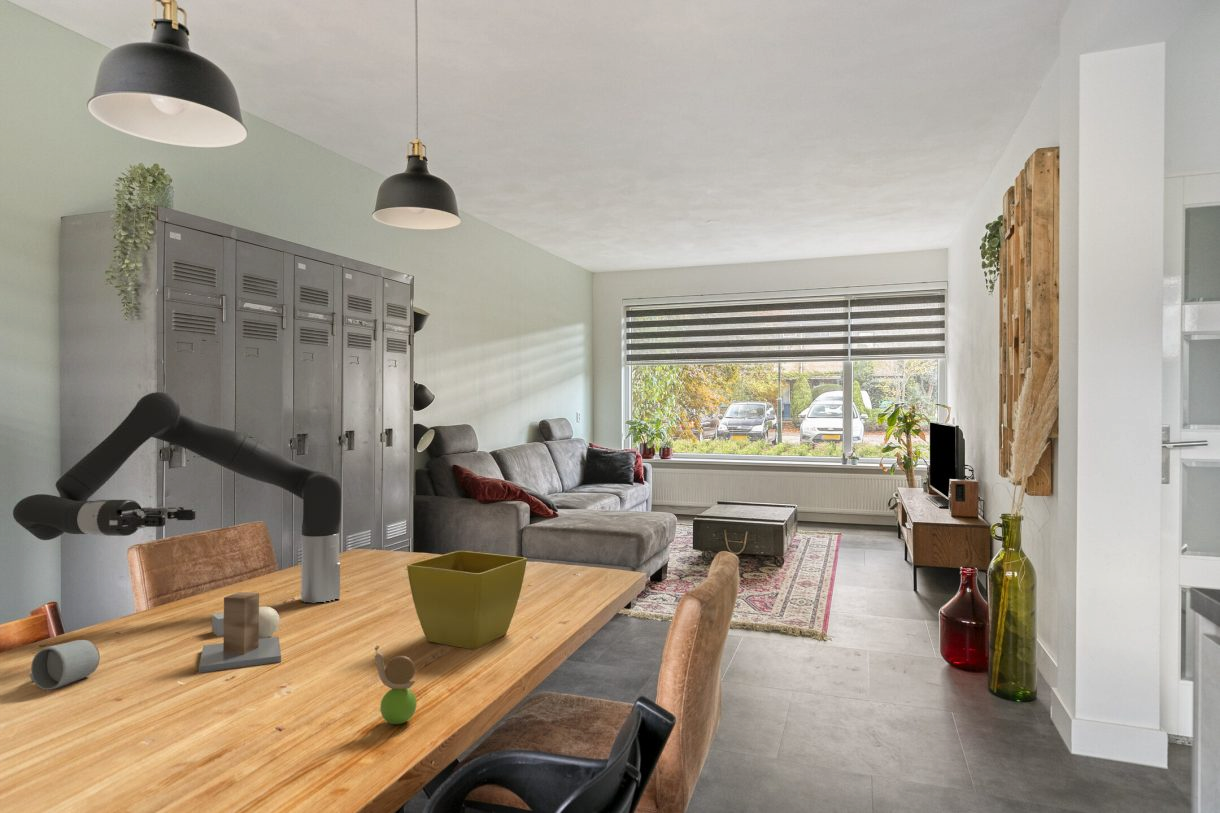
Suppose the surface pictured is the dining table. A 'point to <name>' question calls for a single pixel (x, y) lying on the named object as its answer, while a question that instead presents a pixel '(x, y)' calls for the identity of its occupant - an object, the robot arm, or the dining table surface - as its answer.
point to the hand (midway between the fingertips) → (179, 517)
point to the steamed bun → (268, 622)
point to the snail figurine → (397, 688)
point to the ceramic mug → (64, 664)
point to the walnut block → (241, 623)
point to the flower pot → (466, 596)
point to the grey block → (218, 624)
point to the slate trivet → (239, 656)
